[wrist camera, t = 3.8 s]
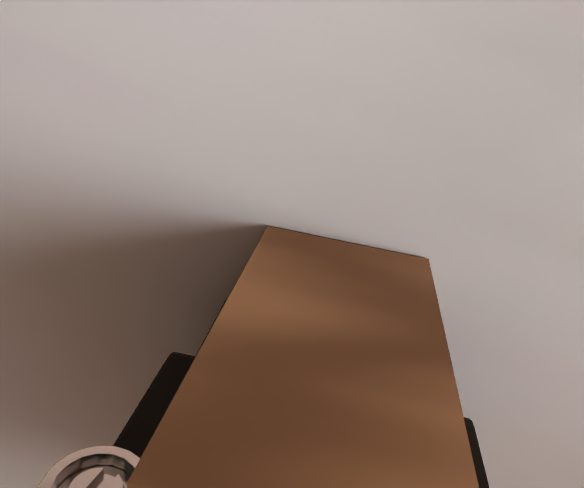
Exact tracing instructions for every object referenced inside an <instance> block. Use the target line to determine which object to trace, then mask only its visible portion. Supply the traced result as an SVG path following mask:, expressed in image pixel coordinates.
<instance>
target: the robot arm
mask: <svg viewBox="0 0 584 488" xmlns="http://www.w3.org/2000/svg"><path fill="white" fill-rule="evenodd" d="M227 299H228V298H227ZM227 299H226V301H227ZM226 301H225V303H226ZM225 303H224V304H223V306H224V305H225ZM223 306H222V308H223ZM222 308H221V310H222ZM221 310H220V312H221ZM220 312H219V314H220ZM219 314H218V315H217V317H218V316H219ZM217 317H216V319H217ZM216 319H215V321H216ZM215 321H214V323H215ZM214 323H213V325H214ZM213 325H212V327H213ZM212 327H211V328H212ZM211 328H210V330H211ZM210 330H209V332H210ZM209 332H208V334H209ZM208 334H207V336H208ZM207 336H206V338H207ZM206 338H205V339H206ZM204 341H205V340H204ZM204 341H203V343H204ZM203 343H202V345H203ZM202 345H201V347H202ZM201 347H200V348H201ZM199 350H200V349H199ZM198 352H199V351H198ZM198 352H197V354H198ZM197 354H196V356H197ZM196 356H190V355H186V354H181V353H177V352H173V353H171V354H170V356H169V357H168V358H167V360H166V361H165V363H164V365H163V366H162V368H161V369H160V371H159V373H158V374H157V376H156V377H155V379H154V381H153V382H152V384H151V385H150V387H149V389H148V390H147V392H146V394H145V395H144V397H143V398H142V400H141V402H140V403H139V405H138V406H137V408H136V410H135V411H134V413H133V414H132V416H131V418H130V419H129V421H128V422H127V424H126V426H125V427H124V429H123V430H122V432H121V434H120V435H119V437H118V439H117V440H116V442H115V443H114V445H113V446H95V447H89V448H84V449H81V450H79V451H76V452H74V453H71V454H69V455H67V456H66V457H64V458H63V459H61V460H60V461H59V462H57V463H56V464H55V465H54V466H53V467H52V468H51V469H50V470H49V472H48V473H47V474H46V475H45V476H44V478H43V479H42V481H41V483H40V484H39V486H38V487H37V488H127V482H128V480H129V478H130V476H131V475H132V473H133V471H134V469H135V467H136V465H137V464H138V462H139V460H140V458H141V456H142V454H143V453H144V451H145V449H146V447H147V445H148V443H149V442H150V440H151V438H152V436H153V434H154V433H155V431H156V429H157V427H158V425H159V423H160V422H161V420H162V418H163V416H164V414H165V412H166V411H167V409H168V407H169V405H170V403H171V401H172V400H173V398H174V396H175V394H176V392H177V391H178V389H179V387H180V385H181V383H182V381H183V380H184V378H185V376H186V374H187V372H188V370H189V369H190V367H191V365H192V363H193V361H194V359H195V358H196ZM464 422H465V427H466V431H467V436H468V440H469V445H470V449H471V454H472V458H473V463H474V467H475V472H476V476H477V481H478V485H479V488H489V485H488V481H487V477H486V472H485V468H484V464H483V460H482V456H481V452H480V448H479V444H478V440H477V436H476V432H475V428H474V425H473V423H472V421H471V420H470V419H469V418H465V417H464Z"/></svg>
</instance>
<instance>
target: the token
mask: <svg viewBox="0 0 584 488" xmlns="http://www.w3.org/2000/svg"><path fill="white" fill-rule="evenodd" d="M127 488H479V485H478V481H477V476H476V472H475V467H474V463H473V458H472V454H471V449H470V445H469V440H468V436H467V431H466V427H465V422H464V417H463V413H462V408H461V404H460V399H459V395H458V390H457V386H456V381H455V377H454V372H453V368H452V363H451V359H450V354H449V350H448V345H447V341H446V336H445V332H444V327H443V322H442V318H441V313H440V309H439V304H438V300H437V295H436V291H435V286H434V282H433V277H432V273H431V268H430V264H429V259H426V258H421V257H416V256H411V255H406V254H401V253H397V252H392V251H387V250H382V249H377V248H372V247H368V246H363V245H358V244H353V243H348V242H344V241H339V240H334V239H329V238H324V237H319V236H315V235H310V234H305V233H300V232H295V231H290V230H286V229H281V228H276V227H271V226H267V228H266V230H265V232H264V233H263V235H262V237H261V239H260V241H259V243H258V244H257V246H256V248H255V250H254V252H253V253H252V255H251V257H250V259H249V261H248V263H247V264H246V266H245V268H244V270H243V272H242V274H241V275H240V277H239V279H238V281H237V283H236V285H235V286H234V288H233V290H232V292H231V294H230V296H229V297H228V299H227V301H226V303H225V305H224V306H223V308H222V310H221V312H220V314H219V316H218V317H217V319H216V321H215V323H214V325H213V327H212V328H211V330H210V332H209V334H208V336H207V338H206V339H205V341H204V343H203V345H202V347H201V348H200V350H199V352H198V354H197V356H196V358H195V359H194V361H193V363H192V365H191V367H190V369H189V370H188V372H187V374H186V376H185V378H184V380H183V381H182V383H181V385H180V387H179V389H178V391H177V392H176V394H175V396H174V398H173V400H172V401H171V403H170V405H169V407H168V409H167V411H166V412H165V414H164V416H163V418H162V420H161V422H160V423H159V425H158V427H157V429H156V431H155V433H154V434H153V436H152V438H151V440H150V442H149V443H148V445H147V447H146V449H145V451H144V453H143V454H142V456H141V458H140V460H139V462H138V464H137V465H136V467H135V469H134V471H133V473H132V475H131V476H130V478H129V480H128V482H127Z"/></svg>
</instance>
